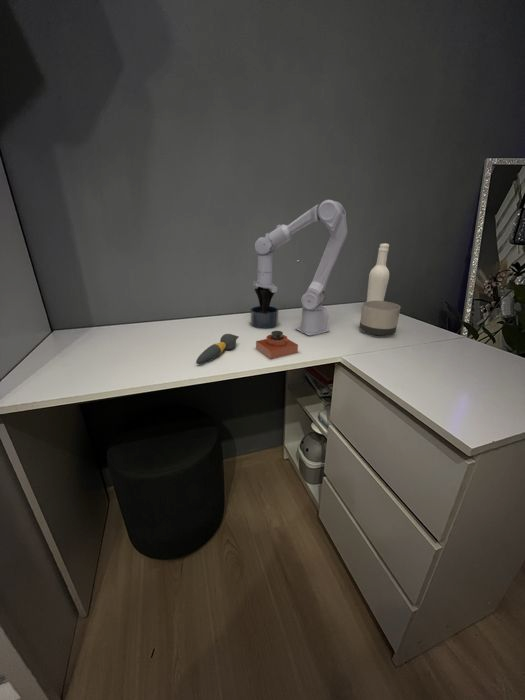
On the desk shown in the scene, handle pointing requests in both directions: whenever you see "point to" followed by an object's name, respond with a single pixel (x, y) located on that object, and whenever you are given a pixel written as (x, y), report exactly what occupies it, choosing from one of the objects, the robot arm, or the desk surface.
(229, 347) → the paintbrush
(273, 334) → the pump button
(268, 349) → the knobbed square stamp
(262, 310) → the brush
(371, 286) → the bottle
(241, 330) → the desk surface
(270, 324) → the dark blue round bowl
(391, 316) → the planter
